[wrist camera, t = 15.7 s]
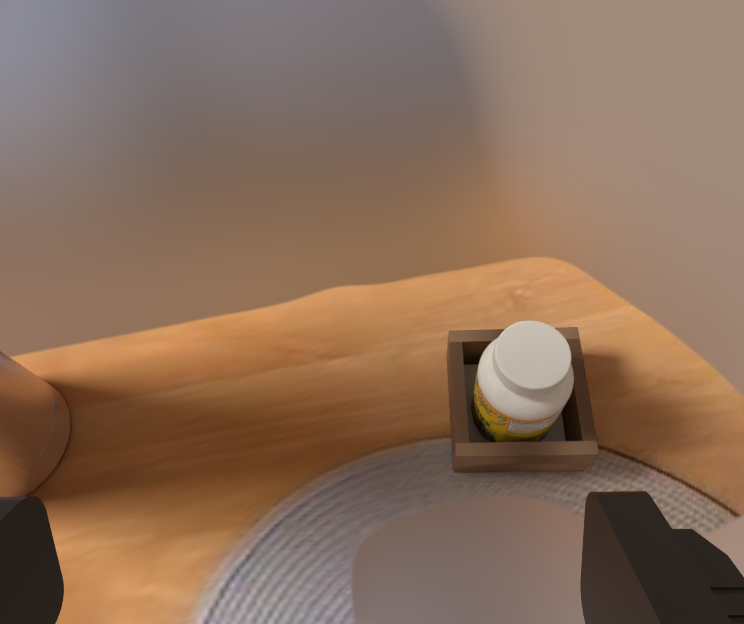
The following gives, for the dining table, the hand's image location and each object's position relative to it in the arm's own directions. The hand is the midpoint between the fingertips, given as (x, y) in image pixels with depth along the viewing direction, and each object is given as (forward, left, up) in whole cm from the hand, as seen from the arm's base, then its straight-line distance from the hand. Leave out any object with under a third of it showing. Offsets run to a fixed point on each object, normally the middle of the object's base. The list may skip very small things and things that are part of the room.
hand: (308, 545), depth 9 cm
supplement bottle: (+8, +12, -30) cm, 34 cm away
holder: (+8, +12, -31) cm, 34 cm away
